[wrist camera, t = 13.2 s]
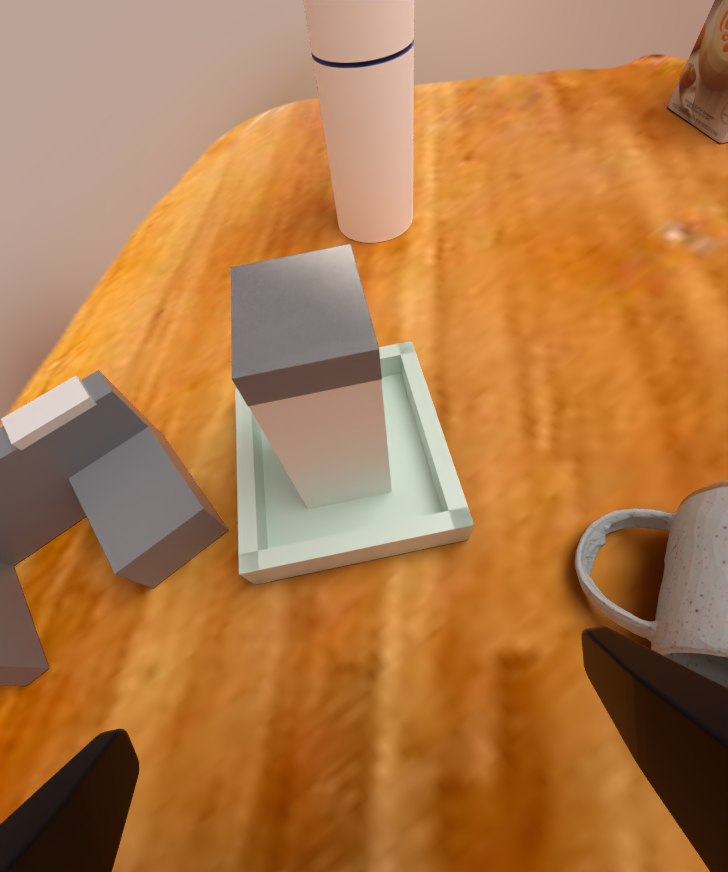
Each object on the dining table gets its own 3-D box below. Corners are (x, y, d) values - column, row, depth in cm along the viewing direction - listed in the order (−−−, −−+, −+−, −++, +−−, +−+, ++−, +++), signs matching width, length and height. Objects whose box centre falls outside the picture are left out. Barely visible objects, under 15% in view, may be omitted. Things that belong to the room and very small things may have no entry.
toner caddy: (392, 491, 24) (379, 349, 14) (307, 509, 24) (231, 378, 14) (372, 409, 27) (350, 243, 17) (298, 424, 27) (230, 267, 17)
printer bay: (228, 530, 24) (165, 475, 18) (26, 685, 21) (-138, 685, 15) (163, 436, 28) (93, 365, 22) (-15, 554, 25) (-157, 510, 19)
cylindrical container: (356, 252, 37) (283, -332, 16) (327, 213, 41) (237, -304, 19) (426, 226, 38) (447, -356, 17) (392, 191, 42) (373, -325, 20)
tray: (468, 539, 23) (474, 524, 21) (255, 584, 23) (238, 574, 21) (411, 365, 30) (411, 340, 28) (247, 399, 29) (235, 376, 27)
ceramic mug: (807, 562, 21) (985, 503, 14) (821, 748, 17) (1070, 782, 11) (581, 492, 24) (643, 417, 17) (553, 635, 20) (617, 609, 14)
